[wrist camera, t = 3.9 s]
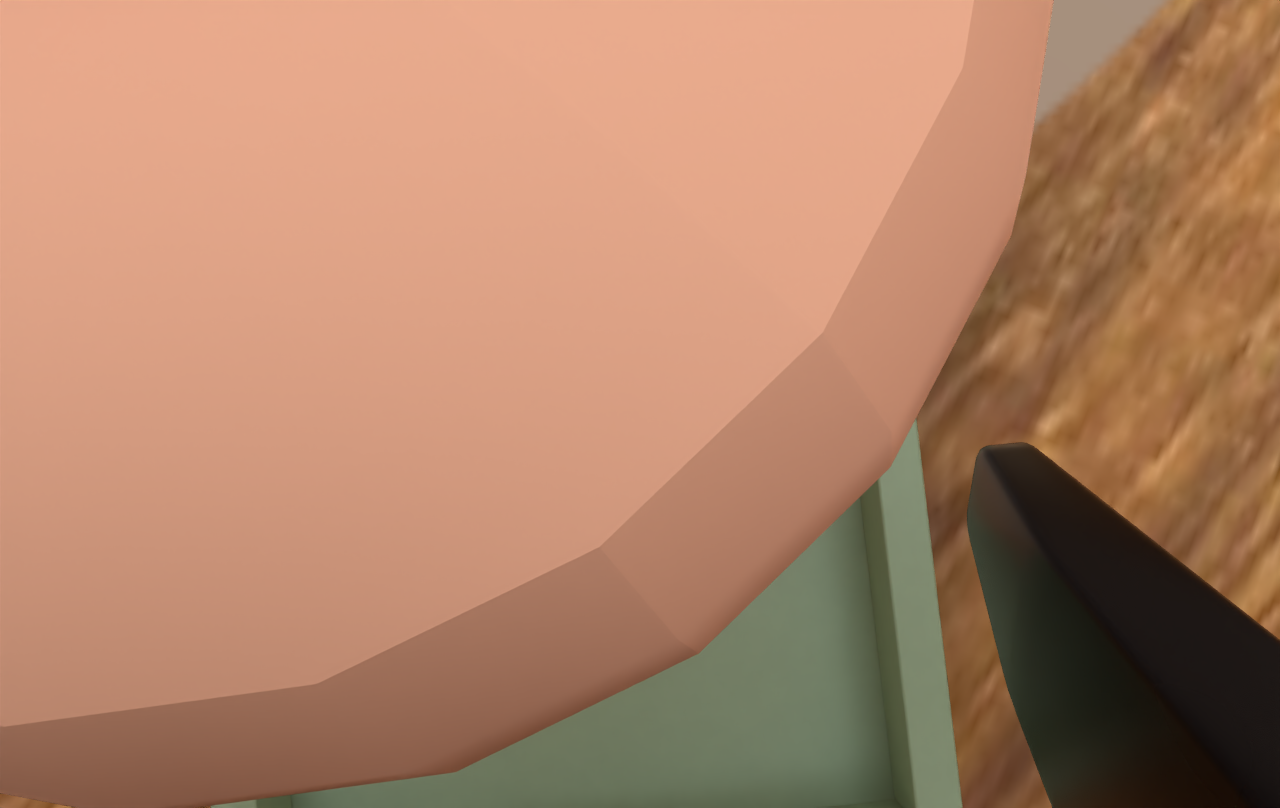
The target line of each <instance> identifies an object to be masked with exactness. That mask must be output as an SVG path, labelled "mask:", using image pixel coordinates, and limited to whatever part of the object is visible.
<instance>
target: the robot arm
mask: <svg viewBox="0 0 1280 808" xmlns="http://www.w3.org/2000/svg"><path fill="white" fill-rule="evenodd" d="M967 526H968V533H969V538H970V542H971V546H972V550H973V554H974V558H975V562H976V566H977V570H978V574H979V578H980V582H981V586H982V590H983V594H984V598H985V602H986V606H987V610H988V614H989V618H990V622H991V626H992V630H993V634H994V638H995V642H996V646H997V650H998V654H999V658H1000V662H1001V666H1002V669H1003V673H1004V677H1005V680H1006V684H1007V688H1008V691H1009V694H1010V697H1011V699H1012V702H1013V705H1014V708H1015V711H1016V714H1017V716H1018V719H1019V722H1020V724H1021V727H1022V730H1023V732H1024V735H1025V737H1026V740H1027V743H1028V745H1029V748H1030V750H1031V753H1032V756H1033V758H1034V761H1035V763H1036V766H1037V769H1038V771H1039V774H1040V776H1041V779H1042V782H1043V784H1044V787H1045V790H1046V792H1047V795H1048V797H1049V800H1050V803H1051V805H1052V808H1280V640H1279V639H1278V638H1277V637H1275V636H1274V635H1273V634H1271V633H1270V632H1269V631H1268V630H1266V629H1265V628H1264V627H1263V626H1261V625H1260V624H1259V623H1258V622H1256V621H1255V620H1254V619H1252V618H1251V617H1250V616H1249V615H1247V614H1246V613H1245V612H1244V611H1242V610H1241V609H1240V608H1238V607H1237V606H1236V605H1235V604H1233V603H1232V602H1231V601H1230V600H1228V599H1227V598H1226V597H1225V596H1223V595H1222V594H1221V593H1219V592H1218V591H1217V590H1216V589H1214V588H1213V587H1212V586H1211V585H1209V584H1208V583H1207V582H1205V581H1204V580H1203V579H1202V578H1200V577H1199V576H1198V575H1197V574H1195V573H1194V572H1193V571H1192V570H1190V569H1189V568H1188V567H1186V566H1185V565H1184V564H1183V563H1181V562H1180V561H1179V560H1178V559H1176V558H1175V557H1174V556H1172V555H1171V554H1170V553H1169V552H1167V551H1166V550H1165V549H1164V548H1162V547H1161V546H1160V545H1158V544H1157V543H1156V542H1155V541H1153V540H1152V539H1151V538H1150V537H1148V536H1147V535H1146V534H1145V533H1143V532H1142V531H1141V530H1139V529H1138V528H1137V527H1136V526H1134V525H1133V524H1132V523H1131V522H1129V521H1128V520H1127V519H1125V518H1124V517H1123V516H1122V515H1120V514H1119V513H1118V512H1117V511H1115V510H1114V509H1113V508H1112V507H1110V506H1109V505H1108V504H1106V503H1105V502H1104V501H1103V500H1101V499H1100V498H1099V497H1098V496H1096V495H1095V494H1094V493H1092V492H1091V491H1090V490H1089V489H1087V488H1086V487H1085V486H1084V485H1082V484H1081V483H1080V482H1078V481H1077V480H1076V479H1075V478H1073V477H1072V476H1071V475H1070V474H1068V473H1067V472H1066V471H1065V470H1063V469H1062V468H1061V467H1059V466H1058V465H1057V464H1056V463H1054V462H1053V461H1052V460H1051V459H1049V458H1048V457H1047V456H1045V455H1044V454H1043V453H1042V452H1040V451H1039V450H1038V449H1037V448H1035V447H1034V446H1032V445H1030V444H1028V443H1023V442H1019V443H1009V444H999V445H989V446H986V447H983V448H982V449H981V450H980V451H979V453H978V455H977V457H976V462H975V468H974V474H973V480H972V486H971V492H970V497H969V503H968V510H967Z"/></svg>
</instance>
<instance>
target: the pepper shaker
mask: <svg viewBox="0 0 1280 808" xmlns="http://www.w3.org/2000/svg"><path fill="white" fill-rule="evenodd" d="M1053 1H1054V0H0V793H2V794H7V795H13V796H18V797H23V798H29V799H34V800H39V801H44V802H50V803H55V804H60V805H65V806H71V807H76V808H198V807H205V806H213V805H220V804H227V803H234V802H242V801H249V800H256V799H264V798H271V797H278V796H286V795H293V794H300V793H308V792H315V791H322V790H330V789H337V788H344V787H352V786H359V785H366V784H374V783H381V782H388V781H396V780H403V779H410V778H417V777H425V776H432V775H439V774H447V773H454V772H457V771H459V770H461V769H463V768H465V767H467V766H469V765H471V764H473V763H475V762H478V761H480V760H482V759H484V758H486V757H488V756H490V755H492V754H494V753H496V752H498V751H500V750H502V749H504V748H506V747H508V746H510V745H512V744H514V743H516V742H518V741H521V740H523V739H525V738H527V737H529V736H531V735H533V734H535V733H537V732H539V731H541V730H543V729H545V728H547V727H549V726H551V725H553V724H555V723H557V722H559V721H562V720H564V719H566V718H568V717H570V716H572V715H574V714H576V713H578V712H580V711H582V710H584V709H586V708H588V707H590V706H592V705H594V704H596V703H598V702H600V701H602V700H605V699H607V698H609V697H611V696H613V695H615V694H617V693H619V692H621V691H623V690H625V689H627V688H629V687H631V686H633V685H635V684H637V683H639V682H641V681H643V680H646V679H648V678H650V677H652V676H654V675H656V674H658V673H660V672H662V671H664V670H666V669H668V668H670V667H672V666H674V665H676V664H678V663H680V662H682V661H684V660H686V659H689V658H691V657H693V656H695V655H697V654H699V653H700V652H701V651H702V650H703V649H704V648H705V647H706V646H707V645H708V644H709V643H710V642H711V641H712V640H713V639H714V638H715V637H716V636H717V635H718V634H719V633H720V632H721V631H722V630H723V629H725V628H726V627H727V626H728V625H729V624H730V623H731V622H732V621H733V620H734V619H735V618H736V617H737V616H738V615H739V614H740V613H741V612H742V611H743V610H744V609H745V608H746V607H747V606H748V605H749V604H750V603H751V602H752V601H753V600H754V599H755V598H756V597H757V596H758V595H760V594H761V593H762V592H763V591H764V590H765V589H766V588H767V587H768V586H769V585H770V584H771V583H772V582H773V581H774V580H775V579H776V578H777V577H778V576H779V575H780V574H781V573H782V572H783V571H784V570H785V569H786V568H787V567H788V566H789V565H790V564H791V563H792V562H793V561H794V560H796V559H797V558H798V557H799V556H800V555H801V554H802V553H803V552H804V551H805V550H806V549H807V548H808V547H809V546H810V545H811V544H812V543H813V542H814V541H815V540H816V539H817V538H818V537H819V536H820V535H821V534H822V533H823V532H824V531H825V530H826V529H827V528H828V527H829V526H831V525H832V524H833V523H834V522H835V521H836V520H837V519H838V518H839V517H840V516H841V515H842V514H843V513H844V512H845V511H846V510H847V509H848V508H849V507H850V506H851V505H852V504H853V503H854V502H855V501H856V500H857V499H858V498H859V497H860V496H861V495H862V494H863V493H864V492H865V491H867V490H868V489H869V488H870V487H871V486H872V485H873V484H874V483H875V482H876V481H877V480H878V479H879V478H880V477H881V476H882V475H883V474H884V473H885V472H886V471H887V470H888V469H889V468H890V467H891V465H892V463H893V461H894V459H895V458H896V456H897V454H898V452H899V450H900V448H901V446H902V444H903V442H904V440H905V438H906V436H907V435H908V433H909V431H910V429H911V427H912V425H913V423H914V421H915V419H916V417H917V415H918V413H919V412H920V410H921V408H922V406H923V404H924V402H925V400H926V398H927V396H928V394H929V392H930V390H931V388H932V387H933V385H934V383H935V381H936V379H937V377H938V375H939V373H940V371H941V369H942V367H943V365H944V364H945V362H946V360H947V358H948V356H949V354H950V352H951V350H952V348H953V346H954V344H955V342H956V341H957V339H958V337H959V335H960V333H961V331H962V329H963V327H964V325H965V323H966V321H967V319H968V318H969V316H970V314H971V312H972V310H973V308H974V306H975V304H976V302H977V300H978V298H979V296H980V295H981V293H982V291H983V289H984V287H985V285H986V283H987V281H988V279H989V277H990V275H991V273H992V271H993V270H994V268H995V266H996V264H997V262H998V260H999V258H1000V256H1001V254H1002V252H1003V250H1004V248H1005V247H1006V245H1007V243H1008V241H1009V239H1010V237H1011V234H1012V230H1013V226H1014V222H1015V218H1016V214H1017V209H1018V205H1019V201H1020V197H1021V193H1022V189H1023V185H1024V181H1025V177H1026V171H1027V165H1028V159H1029V152H1030V146H1031V140H1032V134H1033V127H1034V121H1035V115H1036V108H1037V101H1038V96H1039V89H1040V83H1041V77H1042V70H1043V64H1044V58H1045V52H1046V45H1047V39H1048V33H1049V25H1050V19H1051V14H1052V7H1053Z"/></svg>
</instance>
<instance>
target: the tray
mask: <svg viewBox="0 0 1280 808" xmlns="http://www.w3.org/2000/svg"><path fill="white" fill-rule="evenodd" d="M211 808H963V807H962V798H961V790H960V781H959V773H958V765H957V756H956V748H955V739H954V731H953V723H952V714H951V706H950V697H949V689H948V680H947V672H946V664H945V655H944V647H943V638H942V630H941V622H940V613H939V605H938V596H937V588H936V580H935V571H934V563H933V554H932V546H931V537H930V529H929V521H928V512H927V504H926V495H925V487H924V479H923V470H922V462H921V453H920V445H919V437H918V428H917V420H916V419H915V421H914V423H913V425H912V427H911V429H910V431H909V433H908V435H907V436H906V438H905V440H904V442H903V444H902V446H901V448H900V450H899V452H898V454H897V456H896V458H895V459H894V461H893V463H892V465H891V467H890V468H889V469H888V470H887V471H886V472H885V473H884V474H883V475H882V476H881V477H880V478H879V479H878V480H877V481H876V482H875V483H874V484H873V485H872V486H871V487H870V488H869V489H868V490H867V491H865V492H864V493H863V494H862V495H861V496H860V497H859V498H858V499H857V500H856V501H855V502H854V503H853V504H852V505H851V506H850V507H849V508H848V509H847V510H846V511H845V512H844V513H843V514H842V515H841V516H840V517H839V518H838V519H837V520H836V521H835V522H834V523H833V524H832V525H831V526H829V527H828V528H827V529H826V530H825V531H824V532H823V533H822V534H821V535H820V536H819V537H818V538H817V539H816V540H815V541H814V542H813V543H812V544H811V545H810V546H809V547H808V548H807V549H806V550H805V551H804V552H803V553H802V554H801V555H800V556H799V557H798V558H797V559H796V560H794V561H793V562H792V563H791V564H790V565H789V566H788V567H787V568H786V569H785V570H784V571H783V572H782V573H781V574H780V575H779V576H778V577H777V578H776V579H775V580H774V581H773V582H772V583H771V584H770V585H769V586H768V587H767V588H766V589H765V590H764V591H763V592H762V593H761V594H760V595H758V596H757V597H756V598H755V599H754V600H753V601H752V602H751V603H750V604H749V605H748V606H747V607H746V608H745V609H744V610H743V611H742V612H741V613H740V614H739V615H738V616H737V617H736V618H735V619H734V620H733V621H732V622H731V623H730V624H729V625H728V626H727V627H726V628H725V629H723V630H722V631H721V632H720V633H719V634H718V635H717V636H716V637H715V638H714V639H713V640H712V641H711V642H710V643H709V644H708V645H707V646H706V647H705V648H704V649H703V650H702V651H701V652H700V653H699V654H697V655H695V656H693V657H691V658H689V659H686V660H684V661H682V662H680V663H678V664H676V665H674V666H672V667H670V668H668V669H666V670H664V671H662V672H660V673H658V674H656V675H654V676H652V677H650V678H648V679H646V680H643V681H641V682H639V683H637V684H635V685H633V686H631V687H629V688H627V689H625V690H623V691H621V692H619V693H617V694H615V695H613V696H611V697H609V698H607V699H605V700H602V701H600V702H598V703H596V704H594V705H592V706H590V707H588V708H586V709H584V710H582V711H580V712H578V713H576V714H574V715H572V716H570V717H568V718H566V719H564V720H562V721H559V722H557V723H555V724H553V725H551V726H549V727H547V728H545V729H543V730H541V731H539V732H537V733H535V734H533V735H531V736H529V737H527V738H525V739H523V740H521V741H518V742H516V743H514V744H512V745H510V746H508V747H506V748H504V749H502V750H500V751H498V752H496V753H494V754H492V755H490V756H488V757H486V758H484V759H482V760H480V761H478V762H475V763H473V764H471V765H469V766H467V767H465V768H463V769H461V770H459V771H457V772H454V773H447V774H439V775H432V776H425V777H417V778H410V779H403V780H396V781H388V782H381V783H374V784H366V785H359V786H352V787H344V788H337V789H330V790H322V791H315V792H308V793H300V794H293V795H286V796H278V797H271V798H264V799H256V800H249V801H242V802H234V803H227V804H220V805H213V806H211Z"/></svg>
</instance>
